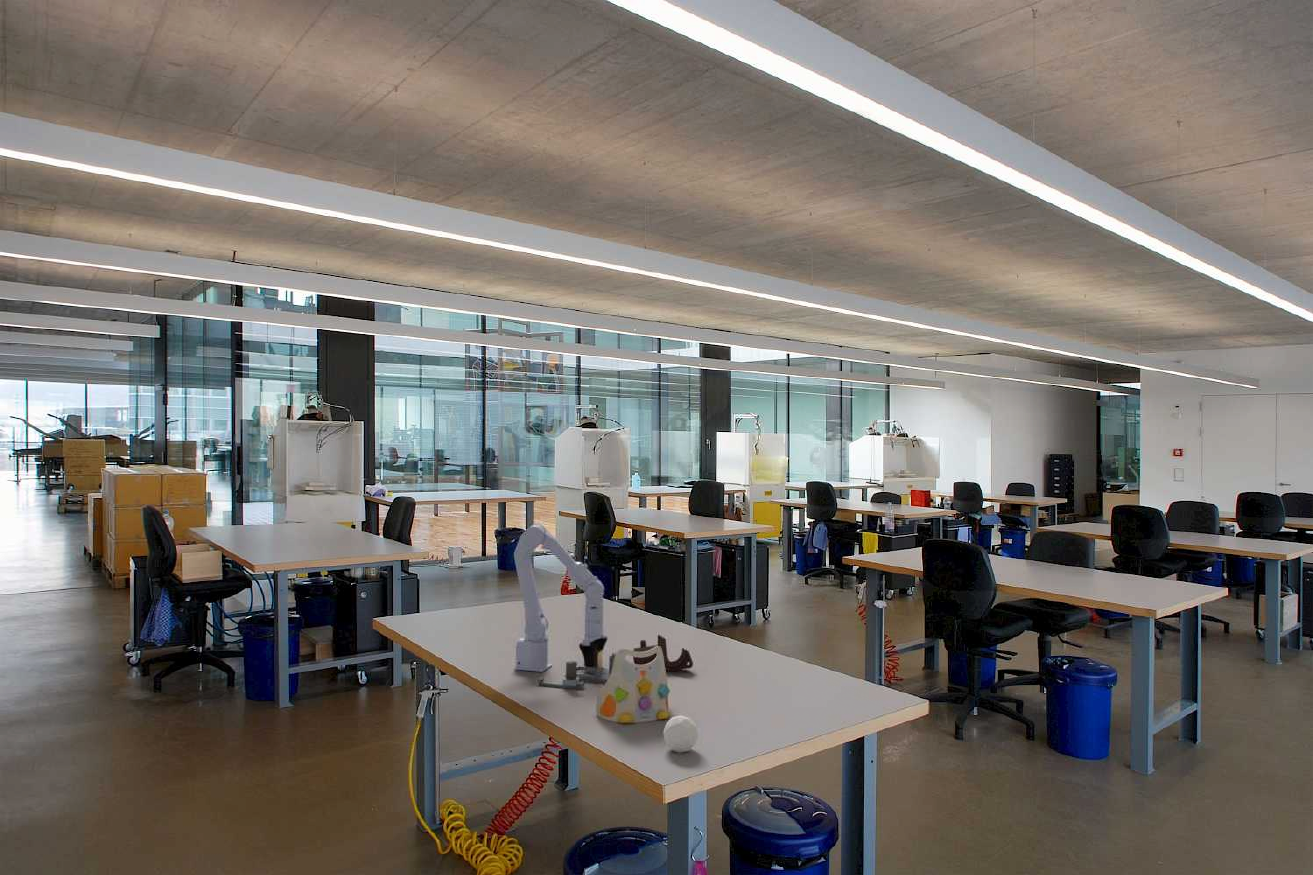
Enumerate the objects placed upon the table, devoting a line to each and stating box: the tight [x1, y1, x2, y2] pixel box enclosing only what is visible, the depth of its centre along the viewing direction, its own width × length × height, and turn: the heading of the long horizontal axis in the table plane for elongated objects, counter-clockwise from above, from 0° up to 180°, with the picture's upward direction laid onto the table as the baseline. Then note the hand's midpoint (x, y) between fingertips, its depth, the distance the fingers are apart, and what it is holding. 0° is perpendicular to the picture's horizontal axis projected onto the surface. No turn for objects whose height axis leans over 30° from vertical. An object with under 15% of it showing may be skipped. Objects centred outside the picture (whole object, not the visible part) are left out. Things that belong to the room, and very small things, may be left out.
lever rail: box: [538, 677, 585, 690], centre depth 226 cm, size 13×2×2 cm, turn 75°
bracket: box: [632, 634, 694, 672], centre depth 246 cm, size 6×18×11 cm, turn 77°
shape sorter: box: [595, 646, 671, 724], centre depth 201 cm, size 20×10×18 cm, turn 113°
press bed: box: [564, 651, 618, 685], centre depth 236 cm, size 14×10×7 cm
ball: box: [662, 714, 699, 754], centre depth 179 cm, size 8×8×8 cm
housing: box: [583, 649, 604, 668], centre depth 245 cm, size 4×4×7 cm
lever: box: [562, 660, 581, 686], centre depth 225 cm, size 4×3×6 cm
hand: (593, 663), depth 245 cm, fingers open, 7 cm apart
